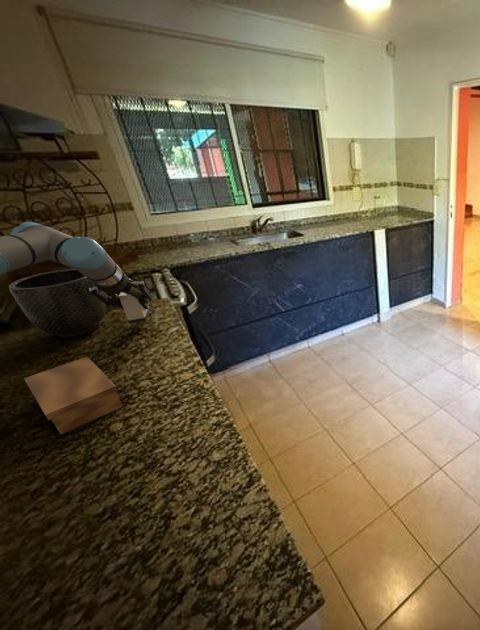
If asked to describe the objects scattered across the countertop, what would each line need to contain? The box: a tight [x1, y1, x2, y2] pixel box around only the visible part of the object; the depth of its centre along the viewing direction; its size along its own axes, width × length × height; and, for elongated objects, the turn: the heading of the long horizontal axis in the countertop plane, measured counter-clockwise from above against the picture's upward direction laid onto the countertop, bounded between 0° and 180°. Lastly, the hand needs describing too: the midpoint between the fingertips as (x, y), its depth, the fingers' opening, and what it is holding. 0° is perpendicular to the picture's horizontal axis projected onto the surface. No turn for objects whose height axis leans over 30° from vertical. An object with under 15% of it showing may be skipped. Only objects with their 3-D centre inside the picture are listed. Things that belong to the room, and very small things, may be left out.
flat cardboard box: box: [23, 356, 124, 435], centre depth 83 cm, size 12×22×6 cm, turn 54°
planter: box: [8, 268, 107, 339], centre depth 114 cm, size 20×20×19 cm
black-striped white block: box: [118, 292, 151, 324], centre depth 118 cm, size 10×5×10 cm, turn 28°
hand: (137, 307), depth 119 cm, fingers closed on black-striped white block, 4 cm apart
